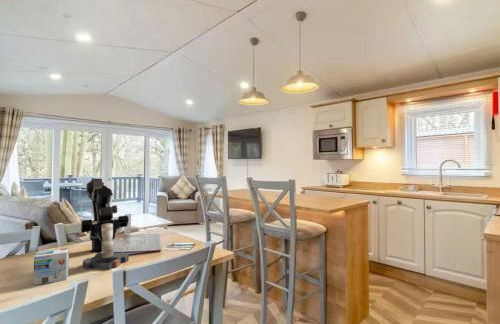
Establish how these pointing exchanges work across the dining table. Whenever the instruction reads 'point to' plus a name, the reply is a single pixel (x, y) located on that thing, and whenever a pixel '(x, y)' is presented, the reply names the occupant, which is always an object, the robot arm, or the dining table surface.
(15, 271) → the dining table surface
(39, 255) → the light bulb box
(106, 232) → the pin
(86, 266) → the pixel heart plate
